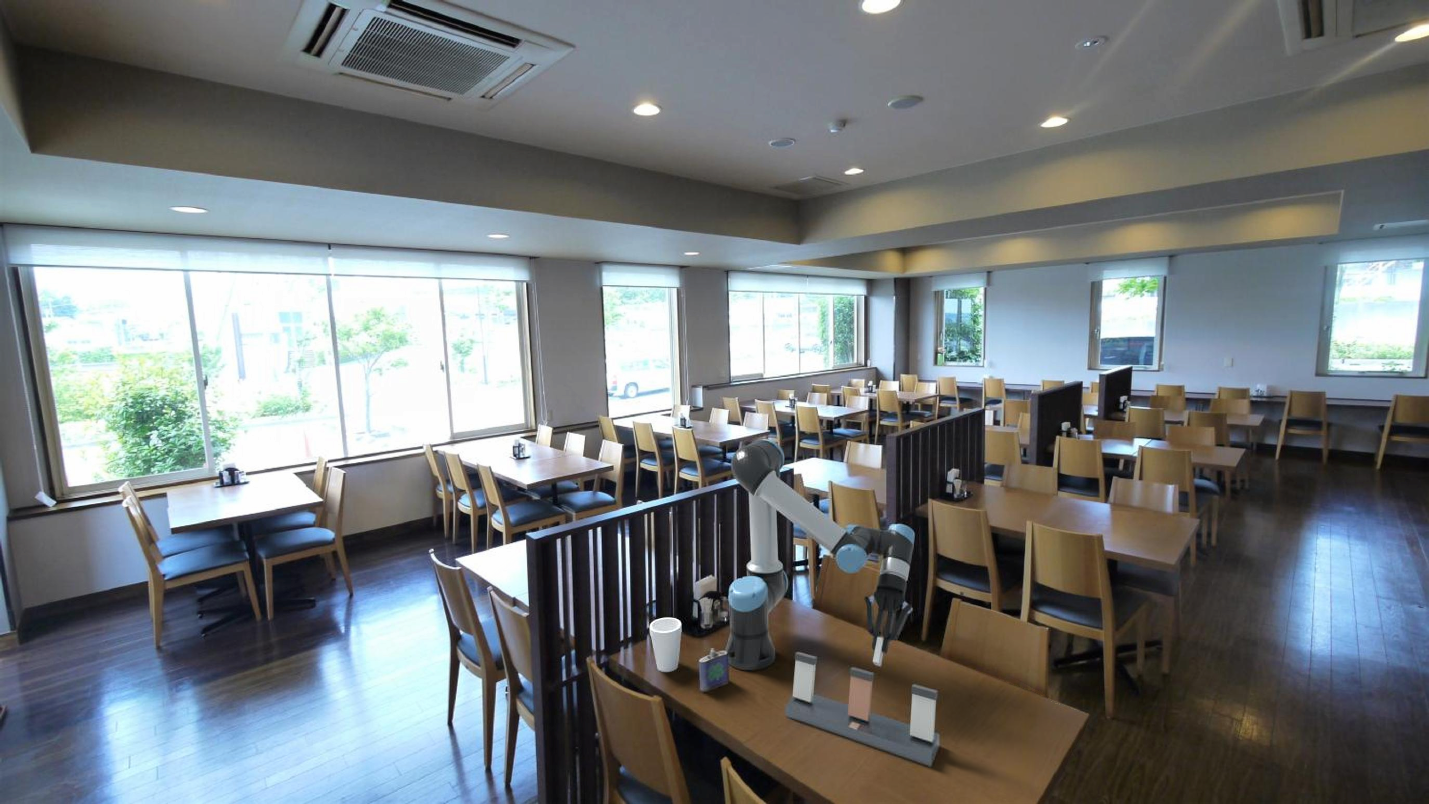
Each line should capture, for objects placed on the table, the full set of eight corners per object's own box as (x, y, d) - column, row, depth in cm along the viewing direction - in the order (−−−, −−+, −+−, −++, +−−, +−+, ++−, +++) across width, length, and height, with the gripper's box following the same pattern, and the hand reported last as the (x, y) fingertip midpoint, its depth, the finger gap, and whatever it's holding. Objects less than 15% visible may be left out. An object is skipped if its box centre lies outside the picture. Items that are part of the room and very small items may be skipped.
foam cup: (678, 676, 171) (676, 633, 170) (648, 673, 173) (645, 631, 172) (686, 658, 181) (684, 618, 179) (657, 656, 182) (655, 616, 181)
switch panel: (799, 699, 158) (798, 688, 157) (939, 745, 138) (939, 733, 138) (785, 716, 151) (785, 704, 151) (931, 767, 131) (931, 753, 131)
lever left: (794, 695, 155) (798, 651, 156) (813, 701, 152) (817, 657, 153) (791, 697, 153) (795, 653, 154) (810, 703, 150) (814, 658, 151)
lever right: (910, 732, 138) (913, 684, 140) (934, 740, 135) (937, 690, 137) (908, 735, 137) (911, 686, 138) (932, 743, 134) (935, 692, 135)
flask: (702, 693, 162) (701, 656, 161) (697, 688, 165) (696, 652, 164) (731, 682, 167) (729, 646, 166) (725, 677, 170) (724, 642, 169)
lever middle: (849, 712, 147) (852, 666, 148) (870, 719, 144) (874, 672, 145) (846, 715, 145) (850, 668, 146) (868, 722, 142) (871, 674, 143)
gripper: (919, 587, 163) (905, 675, 151) (873, 579, 170) (855, 662, 158) (914, 576, 158) (899, 665, 146) (866, 568, 165) (848, 653, 153)
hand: (876, 663), depth 152 cm, fingers closed
